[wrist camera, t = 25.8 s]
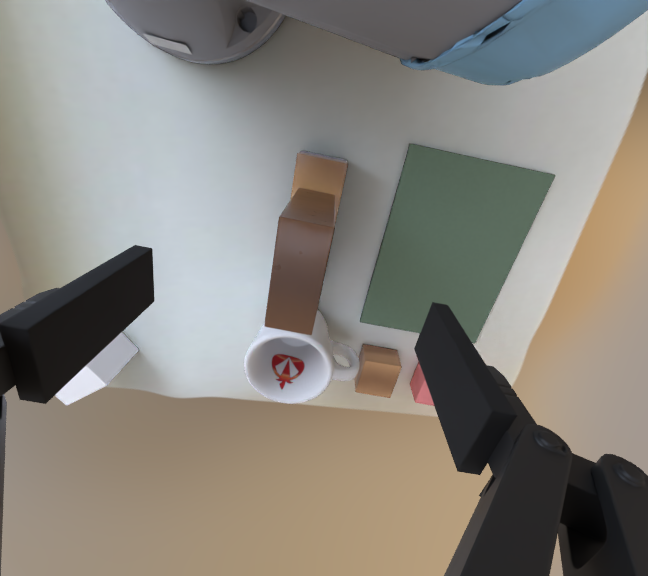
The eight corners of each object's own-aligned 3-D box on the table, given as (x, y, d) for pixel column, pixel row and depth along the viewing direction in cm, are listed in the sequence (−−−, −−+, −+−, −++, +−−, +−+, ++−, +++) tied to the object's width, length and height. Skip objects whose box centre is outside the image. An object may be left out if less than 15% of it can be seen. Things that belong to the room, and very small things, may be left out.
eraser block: (421, 354, 37) (428, 371, 35) (455, 360, 38) (464, 378, 35) (409, 384, 39) (414, 402, 37) (441, 389, 40) (449, 408, 37)
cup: (368, 310, 35) (376, 356, 28) (344, 366, 39) (347, 420, 31) (270, 282, 34) (253, 322, 27) (255, 342, 38) (236, 393, 30)
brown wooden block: (301, 150, 29) (275, 164, 16) (346, 159, 29) (355, 181, 16) (282, 274, 34) (252, 357, 21) (321, 281, 34) (312, 368, 21)
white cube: (102, 310, 36) (61, 341, 31) (139, 349, 39) (107, 385, 33) (64, 332, 38) (19, 365, 32) (103, 368, 40) (66, 406, 34)
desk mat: (409, 143, 28) (410, 143, 28) (553, 174, 29) (555, 175, 28) (359, 320, 36) (360, 322, 35) (473, 341, 36) (475, 343, 36)
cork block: (363, 343, 37) (365, 360, 34) (397, 349, 37) (402, 367, 35) (353, 374, 39) (355, 392, 36) (386, 380, 39) (390, 398, 37)
